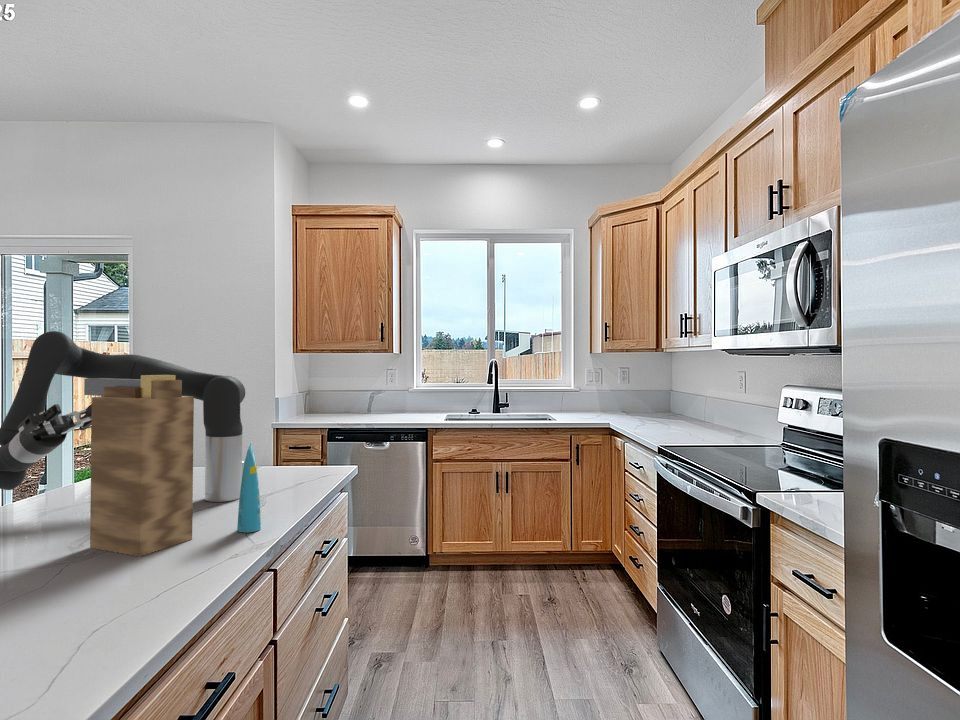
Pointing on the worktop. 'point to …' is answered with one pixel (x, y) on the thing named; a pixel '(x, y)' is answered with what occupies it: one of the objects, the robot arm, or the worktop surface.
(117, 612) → the worktop surface
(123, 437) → the post
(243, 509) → the tube
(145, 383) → the grey long block
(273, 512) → the worktop surface
